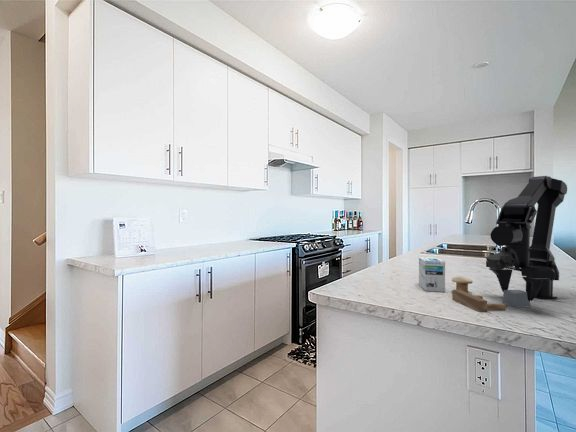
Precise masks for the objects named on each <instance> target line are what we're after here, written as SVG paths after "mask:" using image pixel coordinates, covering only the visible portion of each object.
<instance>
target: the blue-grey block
mask: <svg viewBox="0 0 576 432" xmlns="http://www.w3.org/2000/svg"><path fill="white" fill-rule="evenodd" d="M502 300H503V301H502V302H503V303H502V304H504V305H508V306H511V307H515V308H518V307H519V308H522V307H524V308H525V307H527V308H529V307H531V301H528V298H527V292H526V290H525V291H524V290H521V289H508V290H504V292H503V299H502Z"/></svg>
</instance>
